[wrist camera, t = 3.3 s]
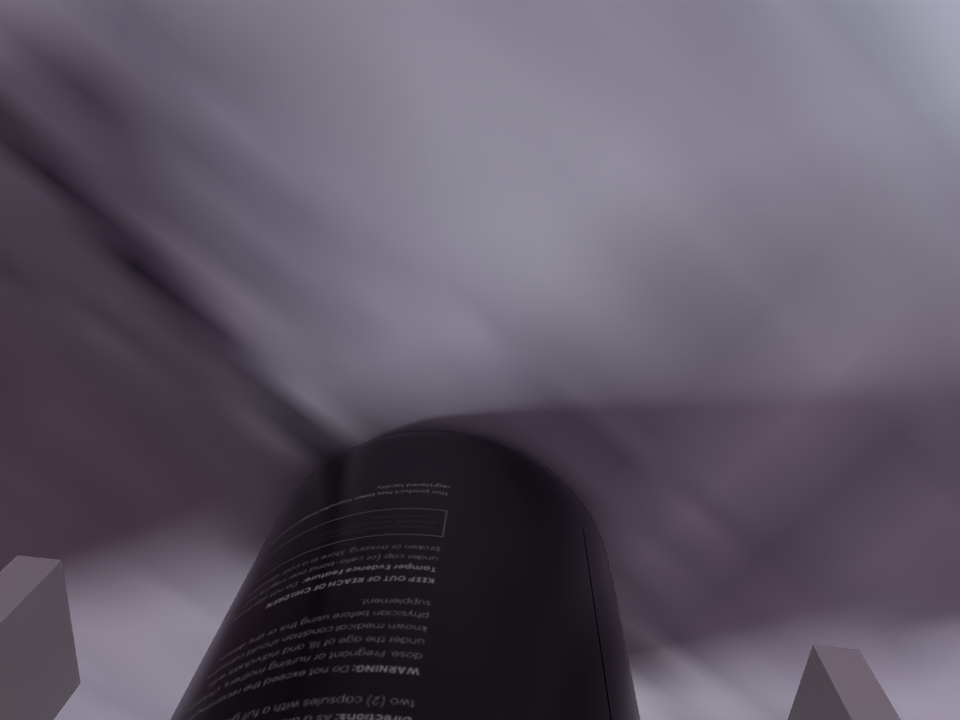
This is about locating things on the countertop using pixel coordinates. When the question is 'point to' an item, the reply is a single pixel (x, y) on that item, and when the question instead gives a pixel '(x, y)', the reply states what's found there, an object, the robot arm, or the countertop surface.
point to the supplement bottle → (423, 597)
